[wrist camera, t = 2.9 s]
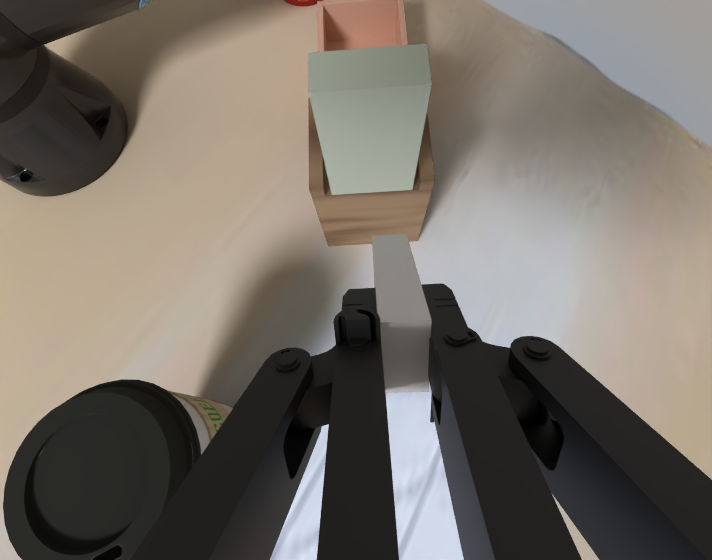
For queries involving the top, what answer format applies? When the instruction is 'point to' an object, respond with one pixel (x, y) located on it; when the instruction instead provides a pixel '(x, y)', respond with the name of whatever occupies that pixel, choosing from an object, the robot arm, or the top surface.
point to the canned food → (302, 2)
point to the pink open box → (360, 24)
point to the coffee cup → (104, 469)
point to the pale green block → (370, 115)
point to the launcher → (369, 200)
